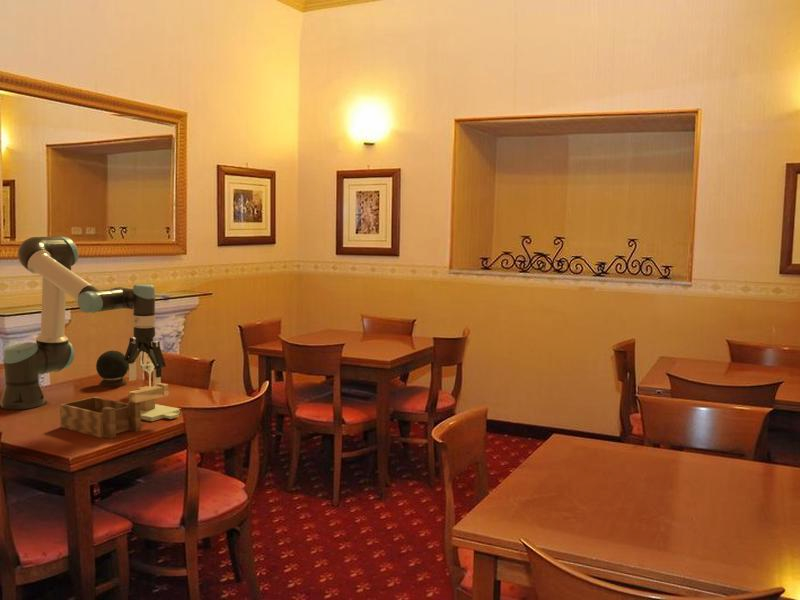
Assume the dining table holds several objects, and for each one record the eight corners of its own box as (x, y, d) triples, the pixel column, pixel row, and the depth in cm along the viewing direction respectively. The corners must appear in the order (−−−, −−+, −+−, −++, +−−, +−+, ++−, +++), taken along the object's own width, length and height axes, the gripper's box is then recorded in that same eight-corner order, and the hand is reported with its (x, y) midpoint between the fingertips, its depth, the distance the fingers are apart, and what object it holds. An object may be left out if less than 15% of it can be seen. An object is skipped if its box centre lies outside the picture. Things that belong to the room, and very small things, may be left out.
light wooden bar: (128, 401, 258) (128, 390, 257) (160, 393, 270) (160, 382, 269) (136, 403, 256) (135, 391, 255) (168, 395, 267) (168, 384, 267)
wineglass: (163, 392, 314) (162, 344, 312) (146, 395, 309) (145, 347, 306) (153, 389, 320) (152, 342, 317) (136, 392, 314) (135, 344, 312)
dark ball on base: (132, 381, 334) (132, 348, 332) (124, 388, 321) (123, 353, 319) (102, 381, 333) (101, 348, 331) (92, 388, 320) (91, 353, 318)
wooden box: (60, 427, 261) (59, 399, 260) (96, 418, 273) (95, 391, 272) (108, 439, 248) (107, 410, 247) (143, 429, 259) (142, 401, 258)
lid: (110, 414, 281) (110, 387, 279) (141, 406, 293) (140, 380, 291) (159, 424, 267) (159, 396, 266) (189, 415, 279) (188, 389, 278)
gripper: (113, 323, 281) (114, 379, 283) (158, 331, 268) (159, 390, 270) (130, 321, 287) (131, 376, 290) (175, 329, 274) (175, 386, 276)
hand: (144, 383), depth 280 cm, fingers open, 13 cm apart
